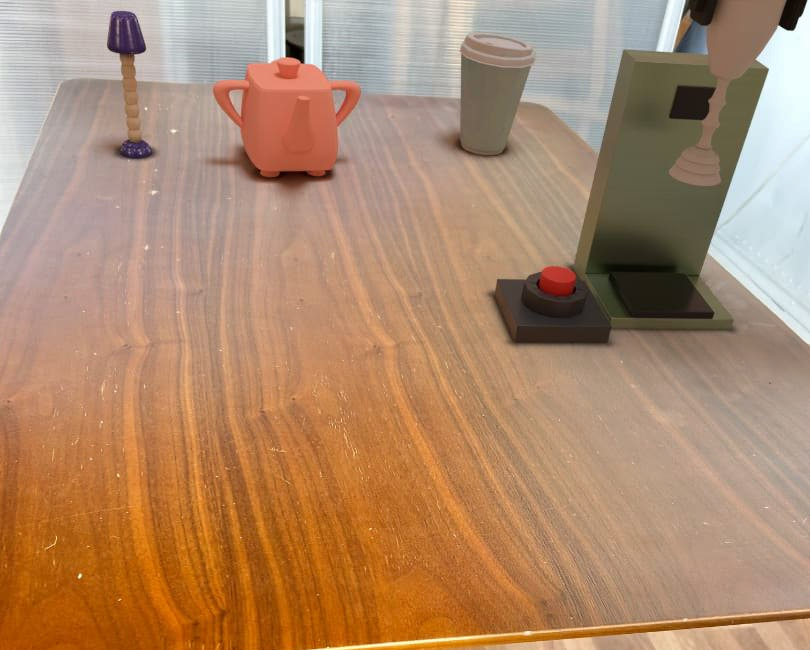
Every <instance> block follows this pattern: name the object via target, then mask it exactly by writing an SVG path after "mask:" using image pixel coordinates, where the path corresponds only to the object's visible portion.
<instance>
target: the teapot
mask: <svg viewBox="0 0 810 650" xmlns="http://www.w3.org/2000/svg"><path fill="white" fill-rule="evenodd" d="M236 90H237V91H238V90H239V91H240V90H241V91H242V96H241V104H240V114H239V113H238V111H237V110H236V108H235V105H234V104H233V102H232V101H231V98H230V92H231V91H236ZM333 91H343V92H345V97H344V100H343V102H342V104H341V106H340V108H339V109H338V111H337V112H336V106H335V100H334V94H333ZM212 93H213V97H214V100H215V101H216V103H217V104H218V106H219V107H220V109H221V110H222V111H223V113H225V115H227V117H228V118H229V119H230V120H231V121H232V122H233V123H234V124H235V125H236V126H238V127H239V129H240V136H241V140H242V144H243V147H244V149H245V152H246V155H247V157H248V159H249V160H250V161H251V163H252V164H253V165H254V166H255V167H256V168H257V169H258V170H259V171H260V172H259V174H260V175H261V176H262V177H265V178H275V177H278V176H280V174H281V172H306V174H308V175H309V176H313V177H322V176H325V175H326V171H329V170H332V169H333V168H334V167H335V164H336V161H337V158H338V153H339V136H338V135H339V133H338V127H339V126H341V125H342V123H343V122H344V121H345V120H346V119H347V118H348V117H349V116H350V114H352V112H353V110H354V109H355V108H356V106H357V105H358V103H359V100H360V98H361V95H362V88H361V86H360V85H359V84H358V83H357V82H355V81H351V80H344V79H343V80H339V79H338V80H329V79H328V77H327V76H326V74H325V73H324V72H323V71H322V70H321V69H320V68H319V67H318V66H317V65H315V64H313V63H301V61H300V59H297V58H294V57H287V56H285V57H279V58H277V59H274V60H272V61H271V62H253V63H252V62H251V63H249V64H248V65H247V67H246V69H245V76H244V79H222V80H219V81H216V82H215V83H214V84H213V86H212Z"/></svg>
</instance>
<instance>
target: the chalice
mask: <svg viewBox="0 0 810 650" xmlns="http://www.w3.org/2000/svg"><path fill="white" fill-rule="evenodd" d="M785 3H786V0H717V4H716V7H715V11H714V14H713V18H712V21H711V24H709V25H708V26H705V43H706V51H707V54H708V58H709V66H710V72H711V73H712V74H713V75H714V76H716V77H717V78H718V80H717V88H716V90H715V92H714V94H713V96H712V97H711V98H710V99H709V100H708V101H709V104H710V106H709V113H708V115H707V117H706V118H705V119H704V120H702V121H701V123H702V125H703V132H702V137H701V139H700V140H699V142H698V143H696V144H695V145H696V146H691V147H688V148H687V149H685V150H684V151H683V152H682V153H681V156H680V157H679V158H678V159H677V160H676V161H675V162H676V163H675V164H674V165H673V166H672V167H671V168H670V170H669V174H670V175H671V176H672V177H674V178H675V179H677V180H679V181H682V182H684V183H688V184H692V185H699V186H713V185H717V184H719V183H720V182H721V178H720V174H719V171H720V166H719V162H720V160H719V157H718V155H717V153H716V152H715V151H713V150H712V149H711V148H712V146H711V137H712V135H713V133H714V131H715V129H716V128H718V127H719V126H720V123H719V121H718V118H719V112H720V111H721V109H722V107H723V106H724V105H725V104H726V101H725V95H726V89H727V87H728V85H729V83H730V81H731V80H733V79H737V78H740V77H742V75H743V74H744V73H745V72H746V71H747V69H748V68H749V67H750V66H751V64H752V63H753V62H754V61H755V60H757V58H758V57H759V56H760V55H761V53H762V52H763V51H764V49H765V48H766V47H767V45H768V43H769V42H770V40H771V39H772V38H773V36H774V35H775V33H776V31H777V30H778V28H779V26H778V24H779V21H780V18H781V15H782V12H783V9H784V6H785Z"/></svg>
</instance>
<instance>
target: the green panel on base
mask: <svg viewBox="0 0 810 650" xmlns="http://www.w3.org/2000/svg"><path fill="white" fill-rule="evenodd" d="M769 71H770V68H769V67H768V66H766V65H765V64H763V63H762V62H760V61H759V60H757V59H756V60H755V61H754V62H753V63H752V64H751V66H750V67H749V68H748V69H747V71H746V72H745V73H744V74H743V75H742V77H740V78H737V79H733V80H731V81H730V83H729V85H728V87H727V89H726V95H725V101H726V104H725V105H724V106H723V107H722V109H721V111H720V112H719V118H718V121H719V123H720V126H719V127H718V128H716V129H715V131H714V133H713V135H712V137H711V146H712V148H711V149H712V150H713V151H715V152H716V153H717V155H718V157H719V160H720V162H719V166H720V171H719V174H720V178H721V182H720V183H719V184H717V185H713V186H699V185H692V184H688V183H684V182H682V181H679V180H677V179H675V178H674V177H672V176H671V175H670V174H669V170H670V168H671V167H672V166H673V165H674V164H675V163H676V162H675V161H676V160H677V159H678V158H679V157H680V156H681V153H682V152H683V151H684V150H685V149H687V148H688V147H691V146H696V145H695V144H696V143H698V142H699V140H700V139H701V137H702V132H703V125H702V123H701V121H702V120H704V119H705V118H706V117H707V115H708V113H709V106H710V104H709V101H708V100H709V99H710V98H711V97H712V96H713V94H714V92H715V90H716V88H717V80H718V78H717V77H716V76H714V75H713V74H712V73H711V72H710V66H709V58H708V53H706V54H705V53H689V52H675V51H674V52H673V51H659V50H657V51H656V50H643V49H625V48H624V49H623V50H622V53H621V57H620V62H619V67H618V71H617V74H616V79H615V84H614V88H613V92H612V96H611V101H610V105H609V110H608V114H607V118H606V123H605V127H604V131H603V135H602V140H601V144H600V149H599V153H598V158H597V162H596V167H595V171H594V175H593V179H592V182H591V183H592V184H591V187H590V192H589V196H588V201H587V205H586V209H585V214H584V219H583V223H582V226H581V231H580V236H579V240H578V245H577V248H576V253H575V258H574V262H573V266H572V268H573V270H574V273H575V275H576V276H577V277H578V280H584V281H585V282H586V284H587V285H588V287H589V289H590V290H591V292H592V294H593V295H594V297H595V299H596V301H597V302H598V304H599V306H600V307H601V309H602V311H603V313H604V314H605V316H606V318H607V319H608V321H609V323H610V324H611V326H612V328H611V329H625V330H626V329H628V330H630V329H631V330H633V329H635V330H636V329H637V330H638V329H640V330H641V329H642V330H645V329H646V330H731V328H732V326H733V323H734V320H735V319H734V318H733V316H732V314H730V313H729V311H728V310H727V309H726V308H725V306H724V305H723V304H722V302H721V301H720V300H719V299H718V297H717V296H716V295H715V294H714V292H713V291H712V290H711V288H710V287H709V285H708V284H706V282H705V281H704V280H703V278H702V277H701V273H702V270H703V267H704V263H705V261H706V258H707V255H708V252H709V249H710V246H711V244H712V240H713V237H714V234H715V231H716V228H717V225H718V223H719V219H720V216H721V213H722V211H723V208H724V205H725V201H726V198H727V195H728V192H729V191H730V187H731V184H732V181H733V177H734V175H735V171H736V169H737V167H738V163H739V160H740V157H741V154H742V152H743V148H744V145H745V142H746V139H747V136H748V133H749V131H750V127H751V125H752V121H753V119H754V115H755V113H756V110H757V107H758V103H759V100H760V98H761V95H762V92H763V89H764V86H765V83H766V80H767V77H768V74H769Z"/></svg>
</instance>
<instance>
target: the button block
mask: <svg viewBox="0 0 810 650" xmlns="http://www.w3.org/2000/svg"><path fill="white" fill-rule="evenodd" d="M541 272H542V271H538V272H534V273H532V274H529V275H528V276H527V277H526V278H525V279H524V278H523V279H521V278H520V279H518V278H497V279H496V282H495V290H494V297H495V300H496V302H497V305H498V307H499V310H500V312H501V314H502V317H503V320H504V321H505V324H506V326H507V329H508V331H509V333H510V335H511V338H512V340H513V342H514V343H522V344H524V343H527V344H528V343H529V344H531V343H533V344H535V343H537V344H541V343H542V344H608V341H609V338H610V336H611V332H612V329H613V328H612V326H611V324H610V323H609V321H608V319H607V318H606V316H605V314H604V313H603V311H602V309H601V307H600V306H599V304H598V302H597V301H596V299H595V297H594V295H593V294H592V292H591V290H590V289H589V287H588V285H587V284H586V282H585V281H584V280H580V279H579V278H576V281H575V285H574V289H573V293H572V294H571V295H568V296H554V295H551V294H547V293H545V292H543V291H541V290H540V289H539V282H540V277H541Z"/></svg>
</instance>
